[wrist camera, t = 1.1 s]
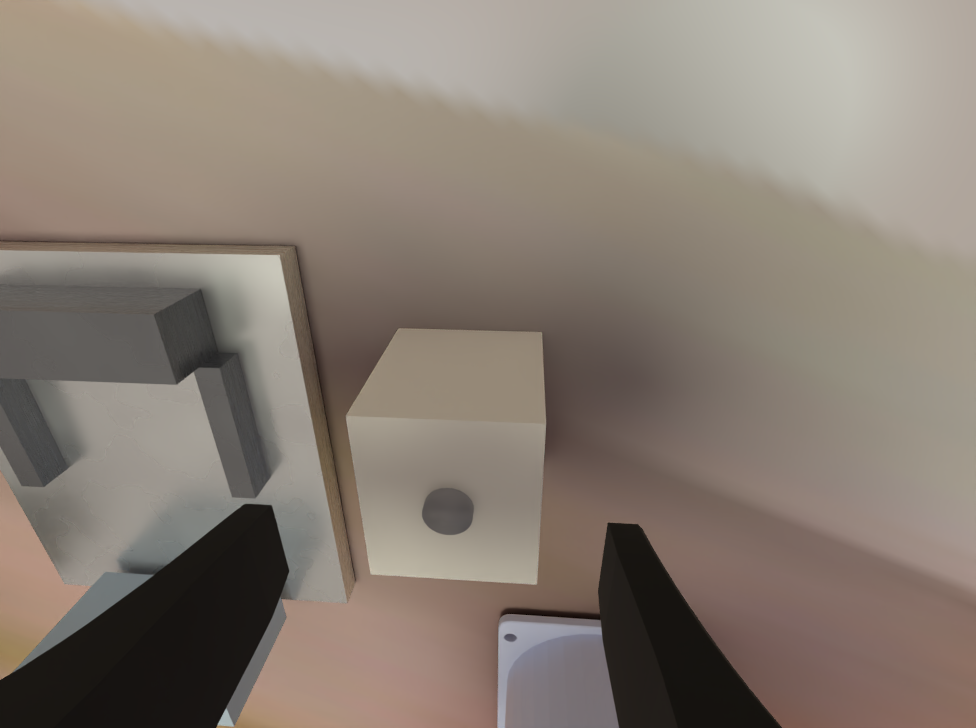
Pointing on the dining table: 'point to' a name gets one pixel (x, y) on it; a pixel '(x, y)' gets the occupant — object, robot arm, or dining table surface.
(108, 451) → the press frame
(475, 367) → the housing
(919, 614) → the dining table surface
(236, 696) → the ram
